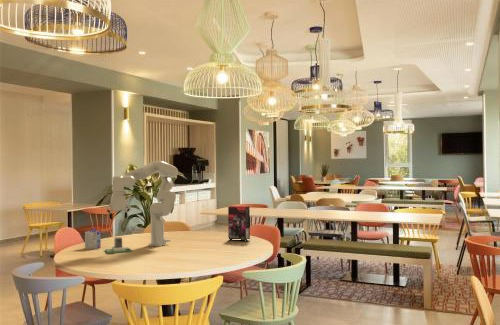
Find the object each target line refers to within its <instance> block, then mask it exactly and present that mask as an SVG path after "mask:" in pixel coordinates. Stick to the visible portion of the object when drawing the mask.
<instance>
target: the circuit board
mask: <svg viewBox="0 0 500 325" xmlns="http://www.w3.org/2000/svg"><path fill="white" fill-rule="evenodd" d="M104 252H105V253H106V254H107V255H108V254H109V255H111V254H121V253H122V254H123V253H133V249H131V248H130V247H125V246H123V245H122V247H119V248H115V245H112V246H111V248H105V249H104Z"/></svg>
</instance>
